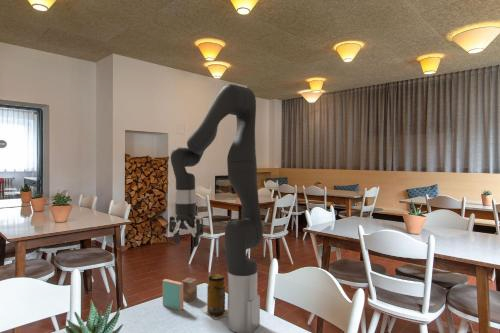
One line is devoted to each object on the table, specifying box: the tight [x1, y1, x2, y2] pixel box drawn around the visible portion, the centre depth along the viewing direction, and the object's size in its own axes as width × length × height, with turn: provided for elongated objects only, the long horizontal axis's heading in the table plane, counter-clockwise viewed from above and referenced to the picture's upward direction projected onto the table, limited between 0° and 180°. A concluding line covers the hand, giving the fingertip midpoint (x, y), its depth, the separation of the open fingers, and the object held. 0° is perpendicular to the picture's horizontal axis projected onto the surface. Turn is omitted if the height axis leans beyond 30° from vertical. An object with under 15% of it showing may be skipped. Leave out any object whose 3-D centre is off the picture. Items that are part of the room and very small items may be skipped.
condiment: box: [201, 273, 228, 320], centre depth 110 cm, size 7×8×12 cm
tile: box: [162, 278, 184, 311], centre depth 114 cm, size 8×2×9 cm, turn 63°
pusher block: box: [181, 277, 198, 303], centre depth 120 cm, size 4×4×7 cm
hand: (186, 245), depth 120 cm, fingers open, 8 cm apart
